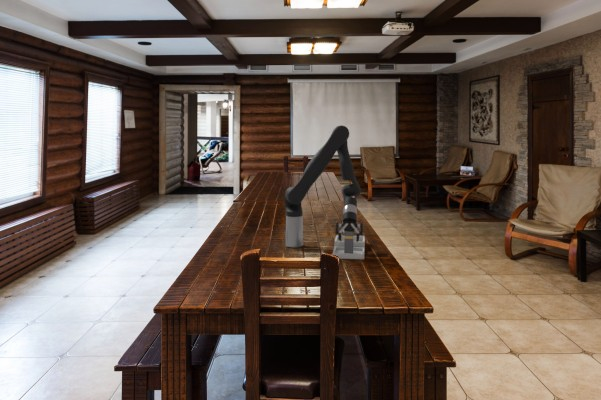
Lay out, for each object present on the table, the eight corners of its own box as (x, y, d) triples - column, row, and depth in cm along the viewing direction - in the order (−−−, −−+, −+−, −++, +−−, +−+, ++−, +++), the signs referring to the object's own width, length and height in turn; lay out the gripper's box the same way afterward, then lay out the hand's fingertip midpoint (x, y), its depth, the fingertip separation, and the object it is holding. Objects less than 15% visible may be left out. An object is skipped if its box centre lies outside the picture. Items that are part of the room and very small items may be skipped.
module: (344, 254, 253) (344, 233, 252) (344, 251, 258) (344, 231, 257) (353, 254, 253) (353, 233, 251) (353, 252, 258) (353, 231, 256)
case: (334, 251, 264) (334, 242, 263) (336, 244, 279) (336, 235, 278) (364, 252, 262) (364, 242, 261) (364, 244, 277) (364, 236, 276)
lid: (332, 258, 250) (332, 253, 250) (334, 251, 264) (334, 246, 263) (364, 259, 248) (364, 254, 247) (364, 252, 262) (364, 247, 261)
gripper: (336, 210, 261) (334, 236, 252) (363, 211, 259) (362, 237, 250) (336, 218, 267) (335, 244, 258) (363, 219, 265) (362, 245, 256)
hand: (348, 240), depth 254 cm, fingers open, 8 cm apart
